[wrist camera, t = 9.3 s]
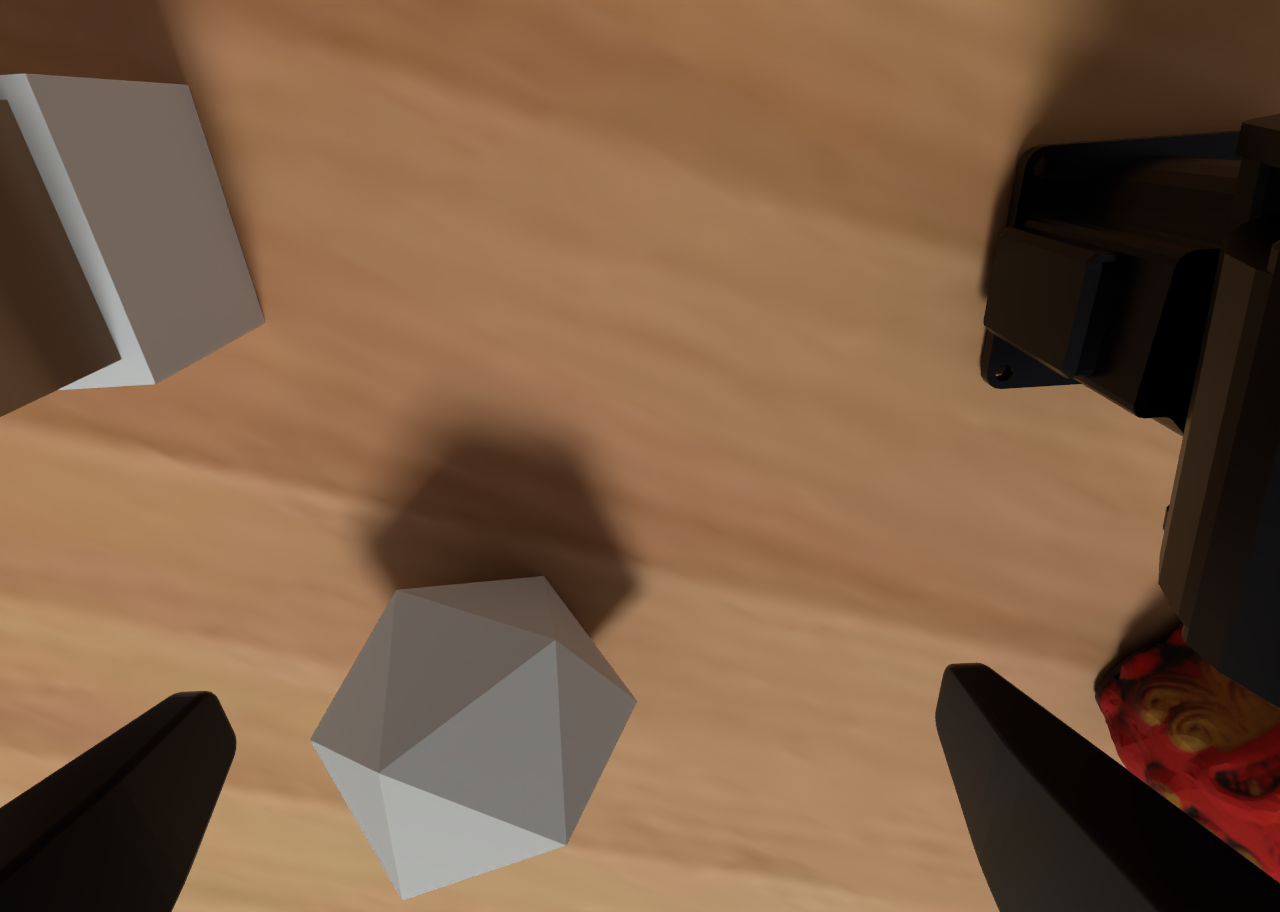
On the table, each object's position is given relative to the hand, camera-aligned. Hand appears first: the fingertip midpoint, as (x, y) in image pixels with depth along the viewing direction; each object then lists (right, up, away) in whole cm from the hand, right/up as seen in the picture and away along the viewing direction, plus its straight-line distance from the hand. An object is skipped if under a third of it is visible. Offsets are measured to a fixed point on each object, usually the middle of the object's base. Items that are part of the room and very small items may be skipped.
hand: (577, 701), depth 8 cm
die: (-4, -3, +16) cm, 17 cm away
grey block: (-13, +9, +10) cm, 19 cm away
